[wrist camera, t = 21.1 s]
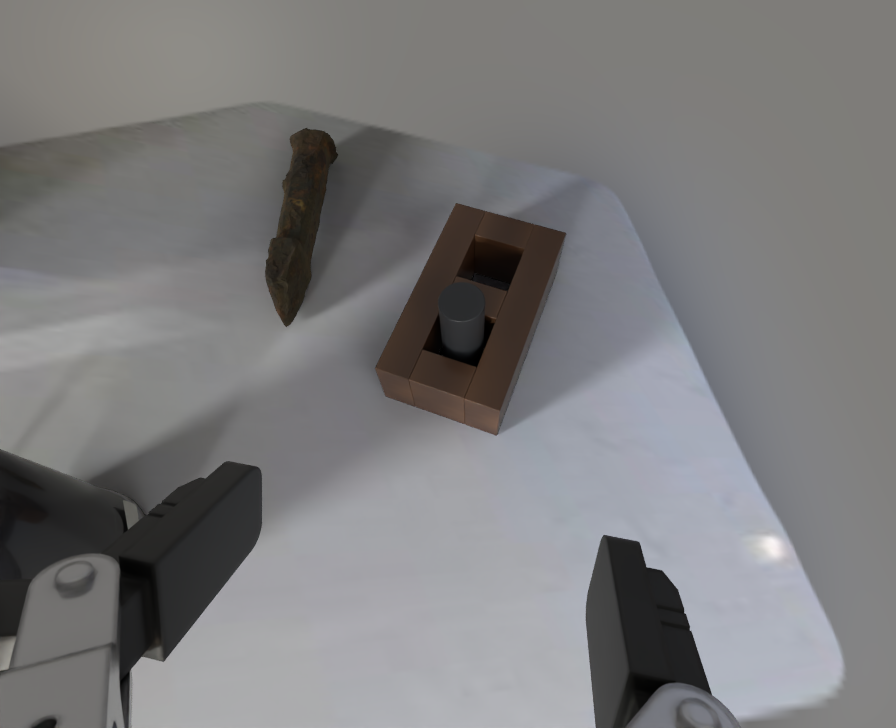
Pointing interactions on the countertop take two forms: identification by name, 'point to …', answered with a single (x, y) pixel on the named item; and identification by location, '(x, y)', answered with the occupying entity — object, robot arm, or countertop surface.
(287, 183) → the hand tool
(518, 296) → the holder
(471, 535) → the countertop surface
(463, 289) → the dark grey cylinder
